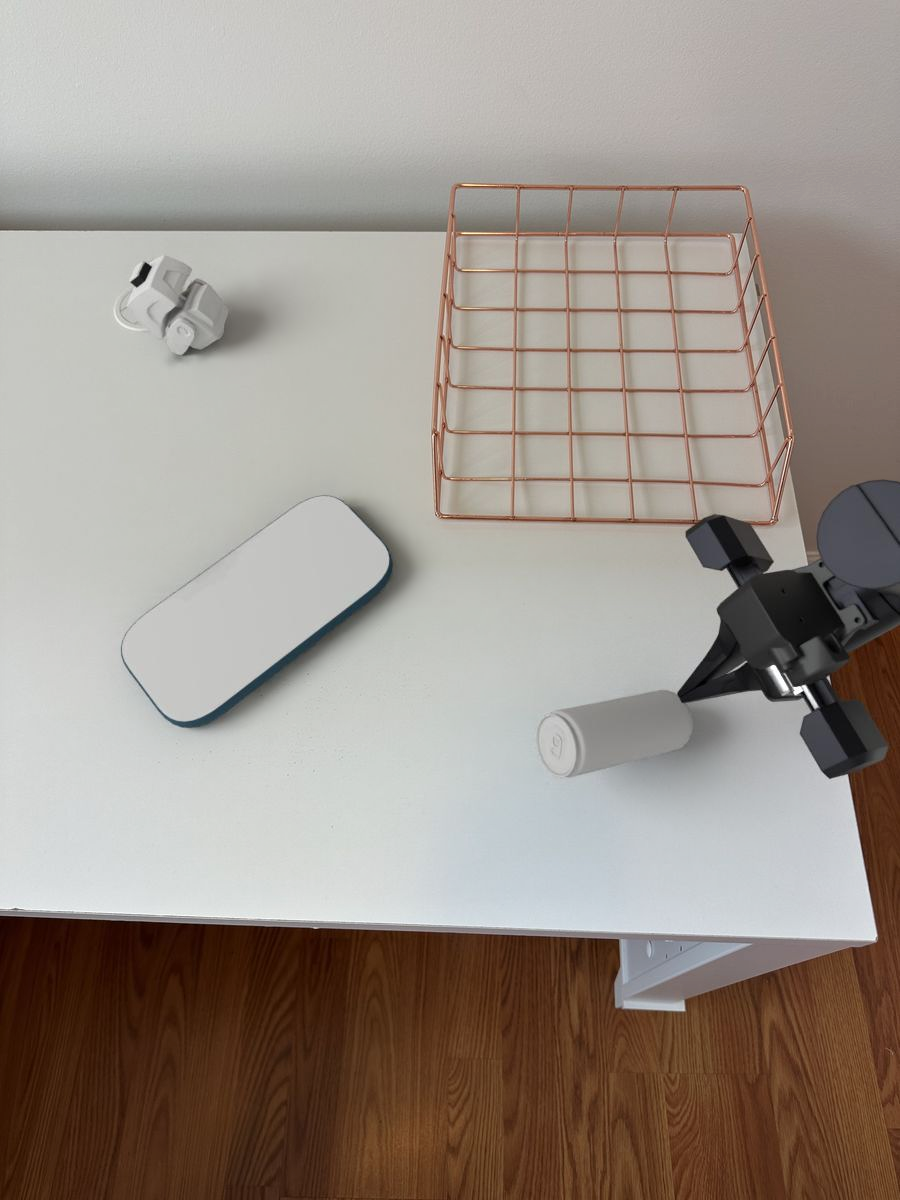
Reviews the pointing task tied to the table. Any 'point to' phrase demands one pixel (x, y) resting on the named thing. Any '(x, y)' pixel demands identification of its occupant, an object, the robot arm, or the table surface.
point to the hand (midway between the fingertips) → (681, 698)
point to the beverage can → (612, 732)
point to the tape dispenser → (176, 305)
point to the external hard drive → (255, 610)
